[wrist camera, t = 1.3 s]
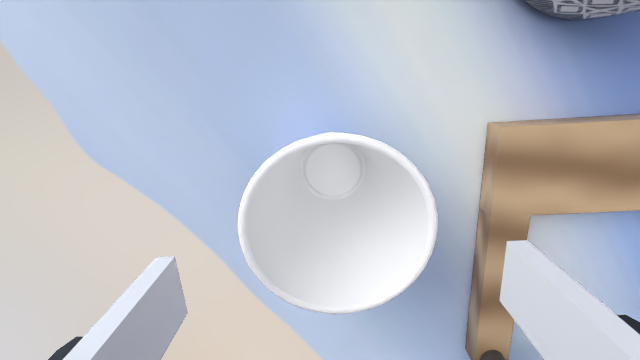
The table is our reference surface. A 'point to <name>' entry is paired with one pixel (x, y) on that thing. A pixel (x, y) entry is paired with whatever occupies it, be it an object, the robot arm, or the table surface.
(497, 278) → the wooden frame with crossbar
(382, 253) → the cup
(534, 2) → the planter
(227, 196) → the table surface
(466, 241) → the table surface
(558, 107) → the table surface
